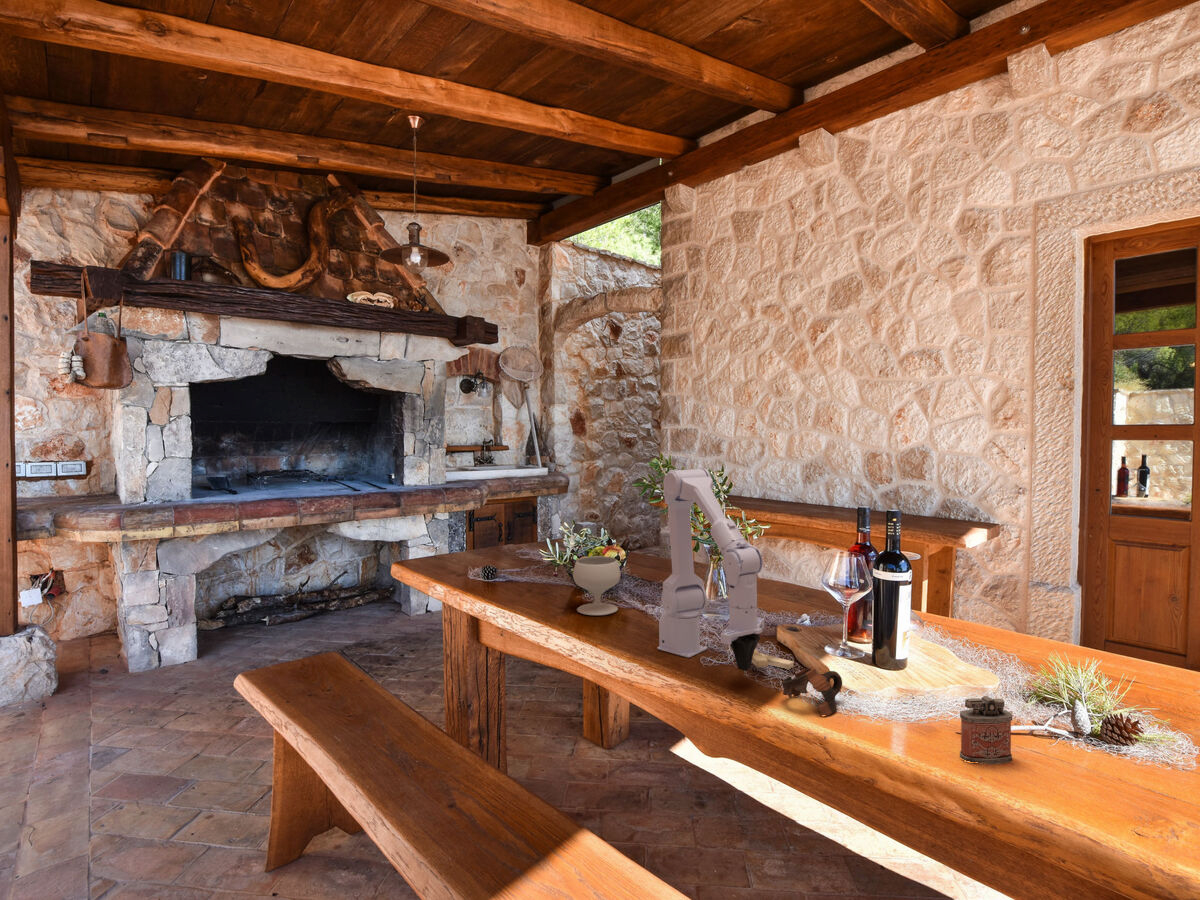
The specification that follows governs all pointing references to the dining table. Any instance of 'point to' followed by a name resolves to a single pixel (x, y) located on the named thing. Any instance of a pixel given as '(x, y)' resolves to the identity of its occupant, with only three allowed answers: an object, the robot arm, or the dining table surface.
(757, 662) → the bar
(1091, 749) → the dining table surface
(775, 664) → the tongs base
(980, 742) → the lighter
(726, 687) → the dining table surface
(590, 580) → the chalice
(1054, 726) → the dining table surface
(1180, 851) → the dining table surface
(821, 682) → the dark brown angled piece
